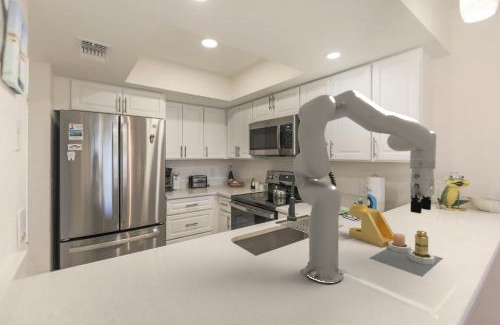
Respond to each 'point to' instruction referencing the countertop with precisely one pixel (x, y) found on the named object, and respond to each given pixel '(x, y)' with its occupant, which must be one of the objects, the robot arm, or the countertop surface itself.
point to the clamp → (371, 226)
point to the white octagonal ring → (429, 260)
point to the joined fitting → (399, 244)
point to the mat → (403, 262)
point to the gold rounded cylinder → (421, 244)
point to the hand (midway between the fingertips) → (420, 210)
